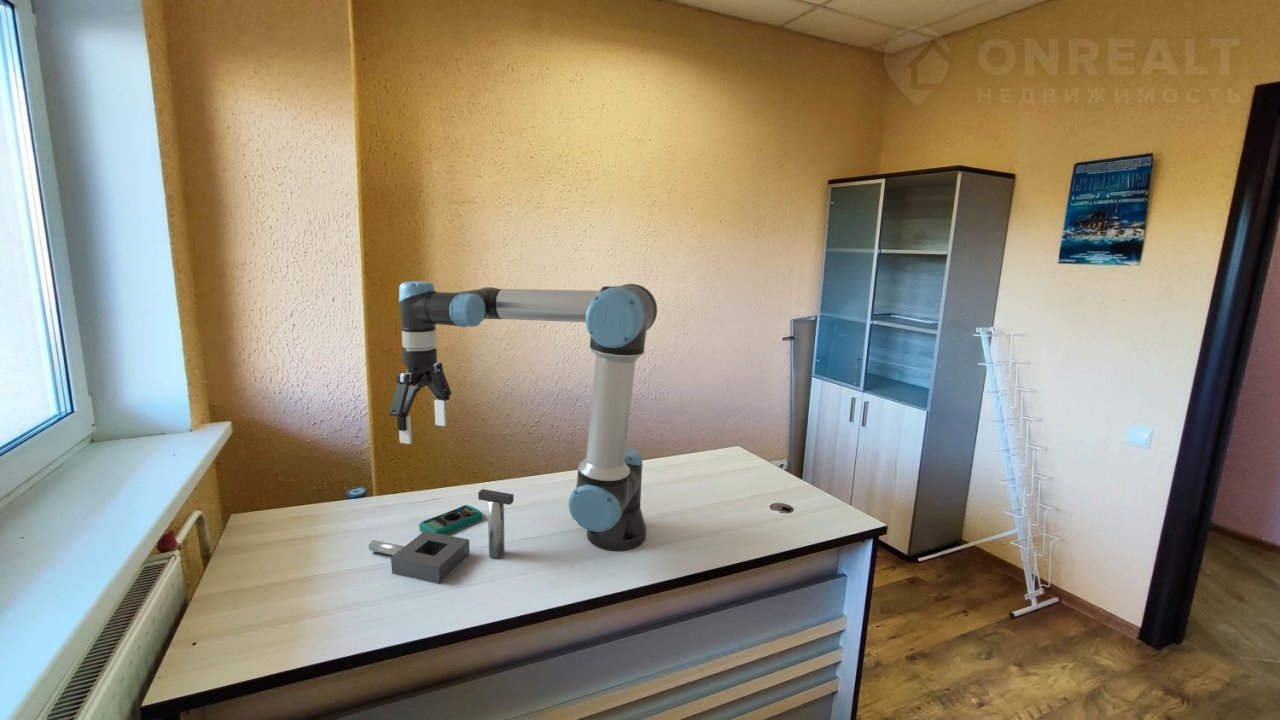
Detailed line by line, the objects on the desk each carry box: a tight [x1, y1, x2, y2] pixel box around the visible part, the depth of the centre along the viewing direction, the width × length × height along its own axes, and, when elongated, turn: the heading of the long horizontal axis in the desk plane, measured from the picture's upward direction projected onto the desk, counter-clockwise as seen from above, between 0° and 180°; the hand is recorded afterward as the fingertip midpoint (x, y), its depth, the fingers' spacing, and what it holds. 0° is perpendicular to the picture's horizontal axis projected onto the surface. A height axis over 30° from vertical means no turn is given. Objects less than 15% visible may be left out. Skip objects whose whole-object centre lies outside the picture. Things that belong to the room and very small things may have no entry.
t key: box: [477, 488, 514, 560], centre depth 133 cm, size 8×4×16 cm, turn 75°
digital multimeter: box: [418, 504, 483, 535], centre depth 148 cm, size 7×15×3 cm, turn 141°
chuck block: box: [368, 531, 471, 584], centre depth 131 cm, size 22×12×4 cm, turn 75°
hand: (424, 433), depth 139 cm, fingers open, 13 cm apart
